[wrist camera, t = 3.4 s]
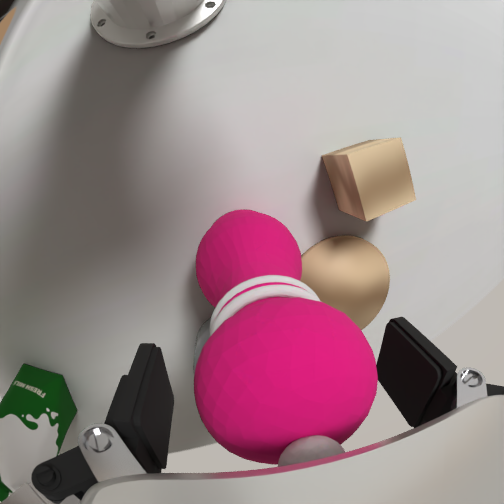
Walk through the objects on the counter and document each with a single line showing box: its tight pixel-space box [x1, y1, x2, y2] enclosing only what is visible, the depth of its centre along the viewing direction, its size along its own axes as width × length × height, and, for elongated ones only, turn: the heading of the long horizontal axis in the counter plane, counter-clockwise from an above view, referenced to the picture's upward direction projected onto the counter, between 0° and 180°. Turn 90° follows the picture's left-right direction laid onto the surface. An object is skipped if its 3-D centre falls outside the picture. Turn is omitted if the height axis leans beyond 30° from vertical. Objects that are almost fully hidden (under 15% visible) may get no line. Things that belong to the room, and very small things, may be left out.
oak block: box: [322, 138, 416, 222], centre depth 20 cm, size 5×5×5 cm
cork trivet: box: [300, 235, 390, 330], centre depth 25 cm, size 11×11×1 cm
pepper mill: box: [194, 210, 378, 467], centre depth 14 cm, size 7×7×20 cm
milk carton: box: [0, 364, 77, 502], centre depth 17 cm, size 9×9×20 cm
